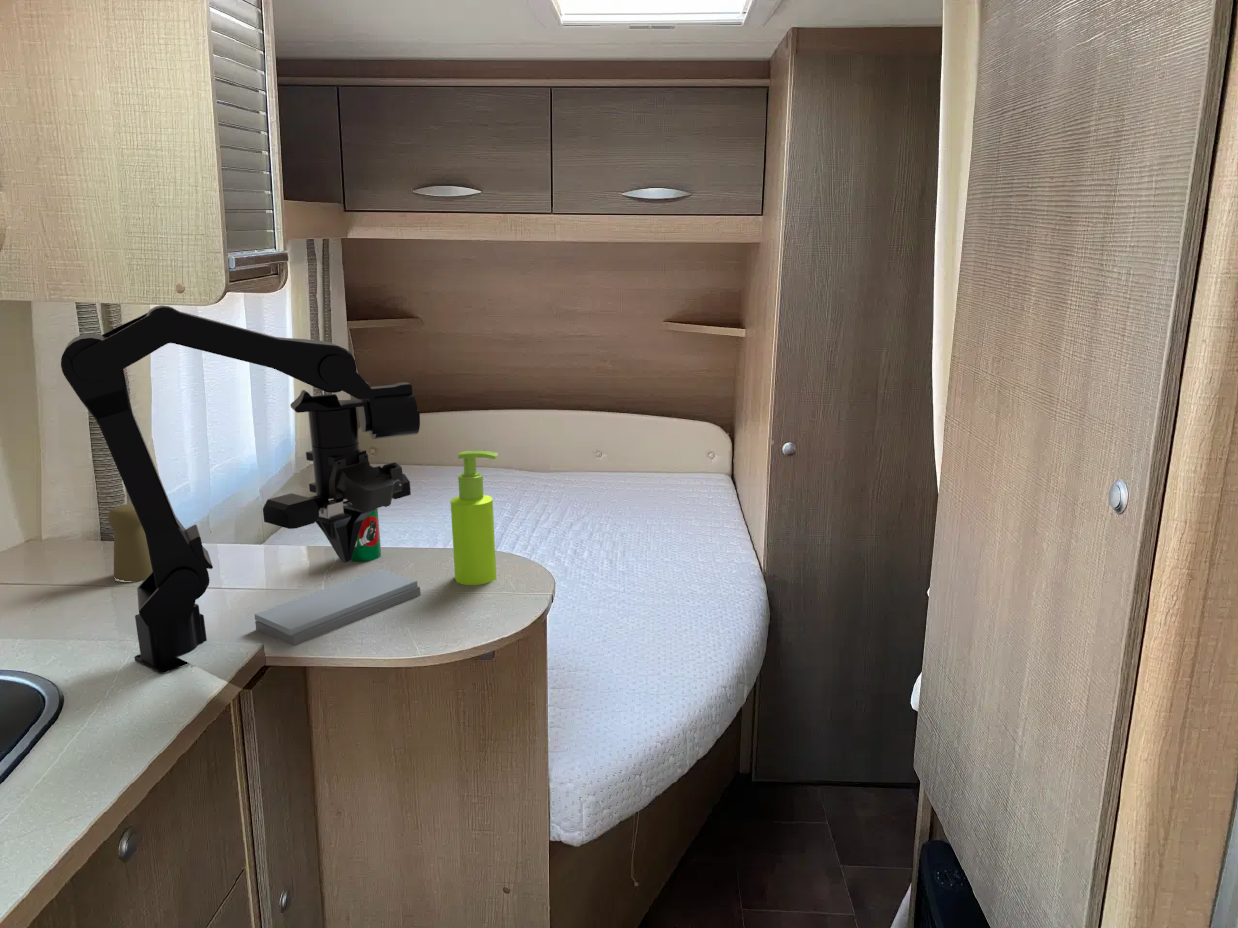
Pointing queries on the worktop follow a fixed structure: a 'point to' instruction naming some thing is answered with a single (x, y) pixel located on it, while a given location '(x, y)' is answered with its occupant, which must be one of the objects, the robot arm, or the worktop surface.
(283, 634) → the grey rectangular tray
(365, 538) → the soda can
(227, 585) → the worktop surface
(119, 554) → the cork
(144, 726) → the worktop surface
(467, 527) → the soap dispenser
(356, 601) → the cover
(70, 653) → the worktop surface
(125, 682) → the worktop surface
